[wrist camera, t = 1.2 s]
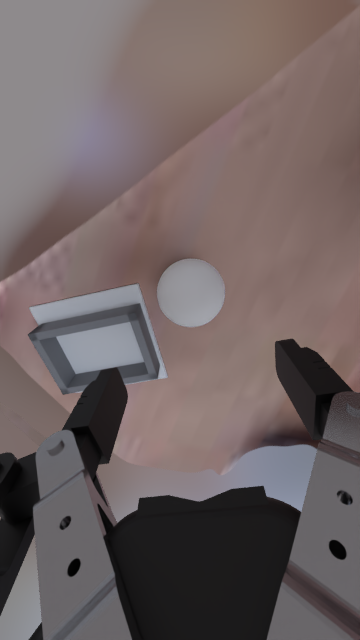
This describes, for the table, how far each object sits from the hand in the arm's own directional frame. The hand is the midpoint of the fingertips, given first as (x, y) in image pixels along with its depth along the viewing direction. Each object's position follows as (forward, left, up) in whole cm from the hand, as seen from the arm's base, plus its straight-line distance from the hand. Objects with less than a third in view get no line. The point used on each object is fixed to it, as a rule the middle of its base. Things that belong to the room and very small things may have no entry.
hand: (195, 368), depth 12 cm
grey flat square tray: (+14, +7, -18) cm, 24 cm away
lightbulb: (0, 0, -18) cm, 18 cm away
